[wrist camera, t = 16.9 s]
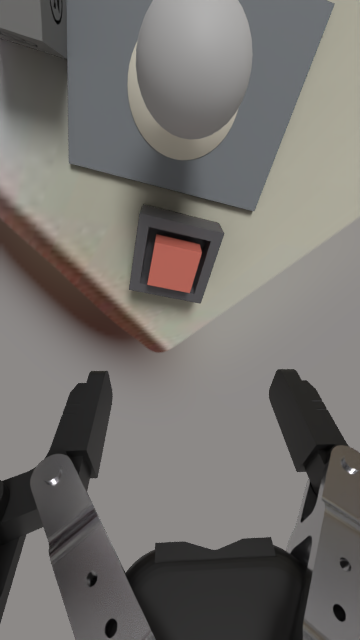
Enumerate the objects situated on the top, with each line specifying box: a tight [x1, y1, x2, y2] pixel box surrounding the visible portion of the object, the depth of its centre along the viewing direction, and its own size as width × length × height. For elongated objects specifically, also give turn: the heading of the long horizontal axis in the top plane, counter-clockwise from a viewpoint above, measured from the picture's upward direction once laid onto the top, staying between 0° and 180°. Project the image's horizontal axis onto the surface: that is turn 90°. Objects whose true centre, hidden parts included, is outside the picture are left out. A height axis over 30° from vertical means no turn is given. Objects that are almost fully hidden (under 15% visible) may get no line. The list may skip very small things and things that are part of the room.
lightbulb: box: [136, 0, 253, 139], centre depth 16 cm, size 6×6×11 cm
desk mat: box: [66, 0, 334, 211], centre depth 20 cm, size 18×14×1 cm
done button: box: [147, 234, 202, 293], centre depth 25 cm, size 4×4×2 cm
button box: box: [129, 204, 224, 303], centre depth 27 cm, size 8×8×4 cm
